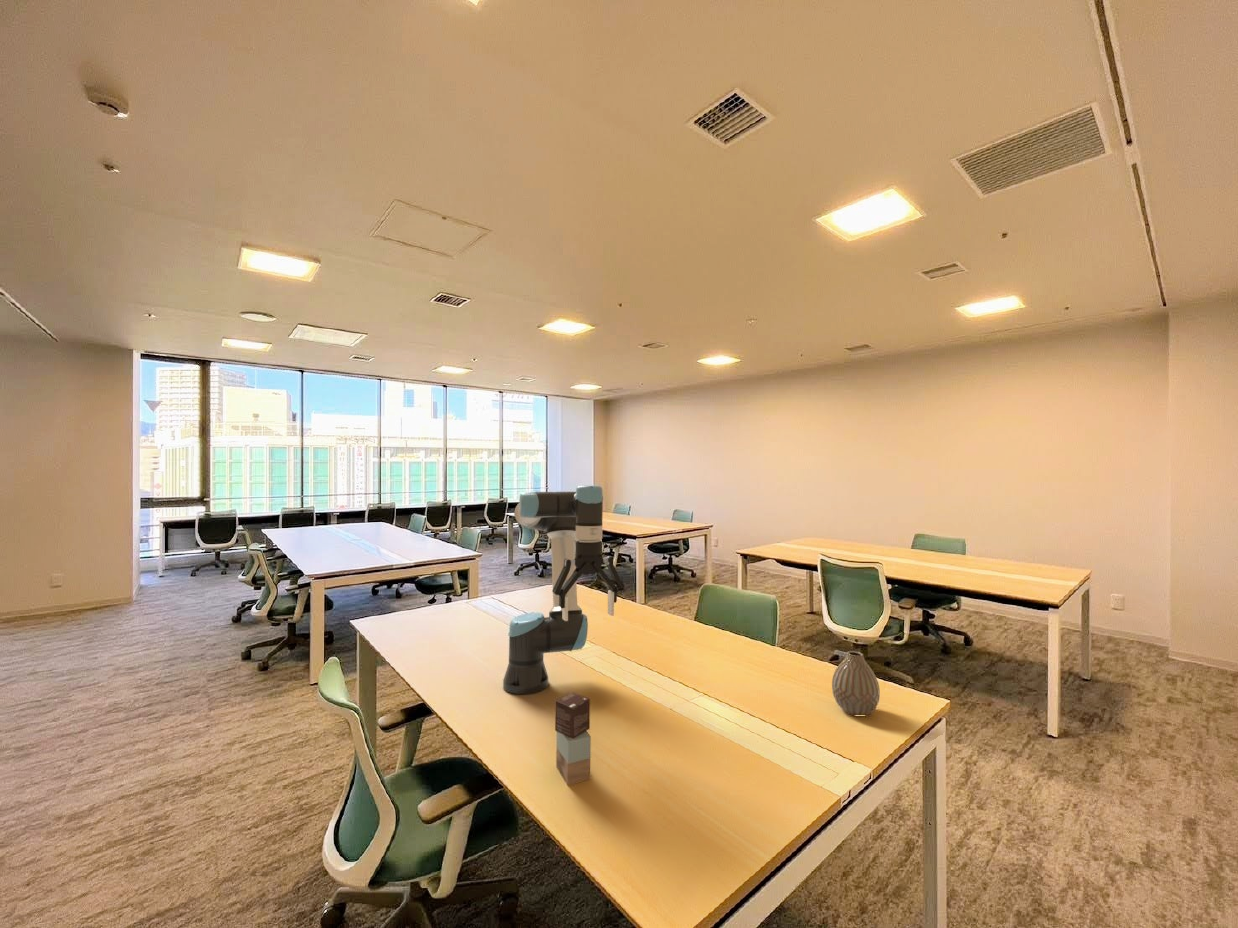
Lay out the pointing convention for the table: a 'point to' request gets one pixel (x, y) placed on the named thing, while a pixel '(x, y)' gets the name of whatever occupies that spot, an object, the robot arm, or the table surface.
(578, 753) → the tower top
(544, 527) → the robot arm
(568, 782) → the tower base
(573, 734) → the box
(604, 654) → the table surface
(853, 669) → the vase
